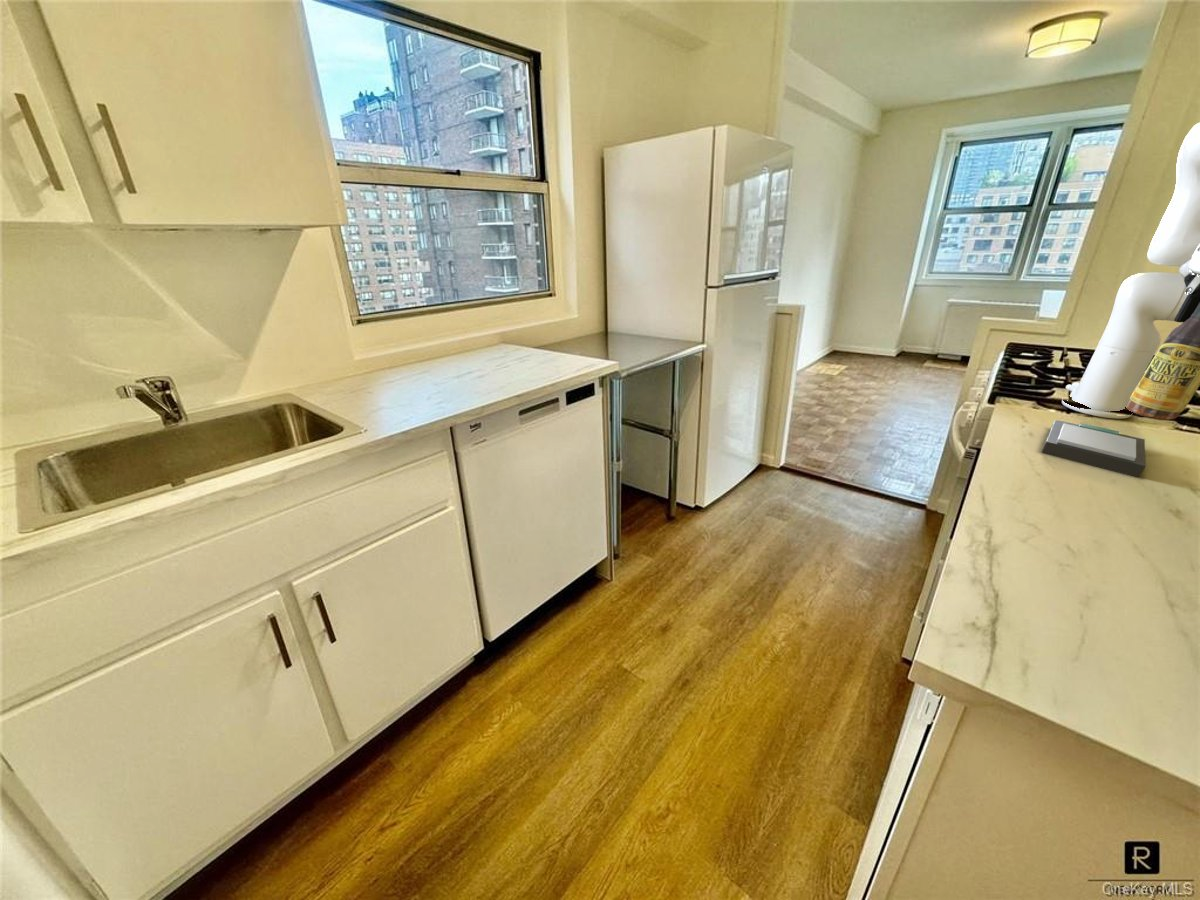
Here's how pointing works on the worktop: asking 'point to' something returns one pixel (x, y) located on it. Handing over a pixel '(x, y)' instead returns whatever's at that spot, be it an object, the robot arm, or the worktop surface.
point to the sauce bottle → (1170, 374)
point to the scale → (1096, 447)
